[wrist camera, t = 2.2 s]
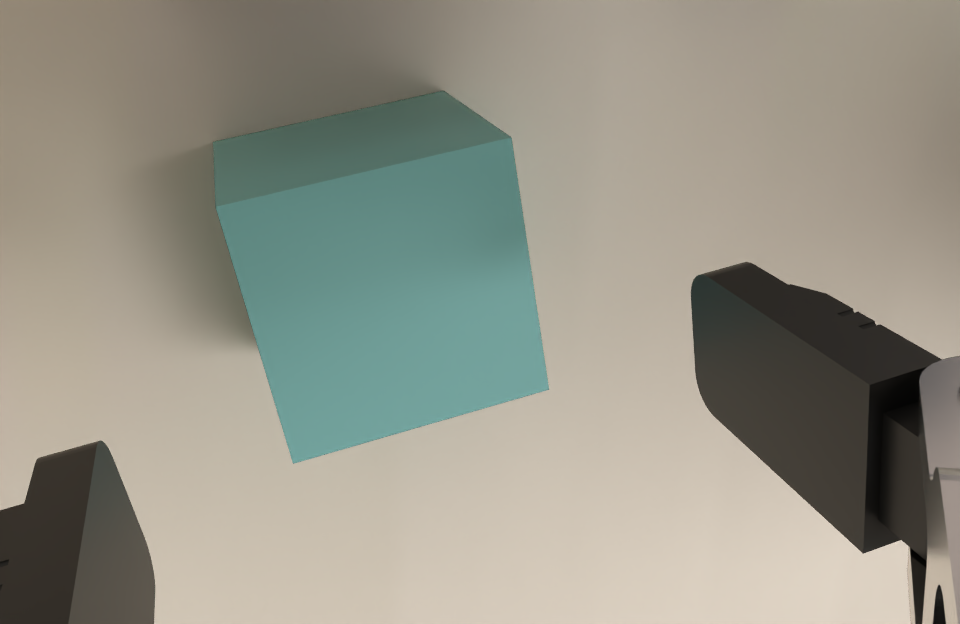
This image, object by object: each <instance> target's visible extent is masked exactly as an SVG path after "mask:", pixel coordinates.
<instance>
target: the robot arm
mask: <svg viewBox="0 0 960 624" xmlns="http://www.w3.org/2000/svg"><path fill="white" fill-rule="evenodd" d="M691 304H692V321H693V338H694V355H695V372H696V379H697V384H698V388H699V391H700V394H701V396H702V399H703V401H704V403H705V405H706V406H707V408H708V409H709V411H710V412H711V413H712V415H713V416H714V417H715V418H716V419H718V420H719V421H720V422H721V423H722V424H723V425H724V426H725V427H726V428H727V429H728V430H730V431H731V432H732V433H733V434H734V435H735V436H736V437H737V438H738V439H739V440H740V441H742V442H743V443H744V444H745V445H746V446H747V447H748V448H749V449H750V450H751V451H752V452H753V453H755V454H756V455H757V456H758V457H759V458H760V459H761V460H762V461H763V462H764V463H765V464H767V465H768V466H769V467H770V468H771V469H772V470H773V471H774V472H775V473H776V474H777V475H778V476H780V477H781V478H782V479H783V480H784V481H785V482H786V483H787V484H788V485H789V486H790V487H792V488H793V489H794V490H795V491H796V492H797V493H798V494H799V495H800V496H801V497H802V498H803V499H805V500H806V501H807V502H808V503H809V504H810V505H811V506H812V507H813V508H814V509H815V510H817V511H818V512H819V513H820V514H821V515H822V516H823V517H824V518H825V519H826V520H827V521H828V522H830V523H831V524H832V525H833V526H834V527H835V528H836V529H837V530H838V531H839V532H840V533H842V534H843V535H844V536H845V537H846V538H847V539H848V540H849V541H850V542H851V543H852V544H853V545H855V546H856V547H857V548H858V549H859V550H860V551H861V552H862V553H866V552H869V551H872V550H874V549H877V548H880V547H883V546H885V545H888V544H891V543H894V542H896V541H899V540H902V541H903V542H905V543H906V544H907V545H908V546H909V549H908V565H907V577H908V592H909V606H910V621H911V624H960V356H956V357H951V358H947V359H943V360H942V359H940V358H938V357H936V356H935V355H933V354H931V353H929V352H928V351H926V350H924V349H922V348H921V347H919V346H917V345H915V344H914V343H912V342H910V341H908V340H907V339H905V338H903V337H901V336H900V335H898V334H896V333H894V332H893V331H891V330H889V329H887V328H886V327H884V326H882V325H877V326H876V325H875V321H873V320H872V319H870V318H868V317H866V316H865V315H863V314H861V313H859V312H856V313H854V311H853V309H852V308H851V307H849V306H847V305H845V304H844V303H842V302H840V301H838V300H837V299H835V298H833V297H831V296H830V295H828V294H825V293H822V292H818V291H814V290H810V289H806V288H803V287H799V286H795V285H791V284H790V285H788V284H786V283H784V282H783V281H781V280H779V279H778V278H776V277H774V276H772V275H771V274H769V273H767V272H766V271H764V270H762V269H761V268H759V267H757V266H756V265H754V264H752V263H749V262H744V263H740V264H737V265H733V266H730V267H726V268H722V269H719V270H715V271H712V272H708V273H704V274H701V275H698V276H696V278H695V279H694V281H693V283H692V288H691ZM154 607H155V579H154V572H153V566H152V561H151V557H150V553H149V550H148V546H147V543H146V540H145V538H144V535H143V533H142V530H141V528H140V525H139V523H138V520H137V518H136V515H135V512H134V510H133V507H132V505H131V502H130V500H129V497H128V495H127V492H126V490H125V487H124V485H123V482H122V480H121V477H120V475H119V472H118V470H117V467H116V465H115V462H114V459H113V457H112V455H111V453H110V451H109V449H108V447H107V446H106V444H105V443H104V442H103V441H97V442H94V443H90V444H87V445H83V446H80V447H76V448H72V449H69V450H65V451H62V452H58V453H54V454H51V455H47V456H44V457H40V458H38V459H37V460H36V463H35V466H34V470H33V474H32V477H31V481H30V485H29V488H28V492H27V496H26V500H25V503H24V504H21V505H17V506H14V507H10V508H7V509H4V510H0V624H154Z"/></svg>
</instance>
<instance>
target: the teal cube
mask: <svg viewBox="0 0 960 624" xmlns="http://www.w3.org/2000/svg"><path fill="white" fill-rule="evenodd" d="M213 151H214V179H215V206H216V210H217V213H218V217H219V220H220V223H221V227H222V230H223V233H224V237H225V240H226V243H227V246H228V250H229V253H230V256H231V260H232V263H233V266H234V270H235V273H236V276H237V280H238V283H239V286H240V289H241V293H242V296H243V299H244V303H245V306H246V309H247V313H248V316H249V319H250V323H251V326H252V329H253V332H254V336H255V339H256V342H257V346H258V349H259V352H260V356H261V359H262V362H263V366H264V369H265V372H266V375H267V379H268V382H269V385H270V389H271V392H272V395H273V399H274V402H275V405H276V409H277V412H278V415H279V418H280V422H281V425H282V428H283V432H284V435H285V438H286V442H287V445H288V448H289V452H290V455H291V458H292V461H293V464H294V463H297V462H301V461H304V460H308V459H311V458H314V457H318V456H321V455H325V454H328V453H332V452H335V451H339V450H342V449H345V448H349V447H352V446H356V445H359V444H363V443H366V442H370V441H373V440H376V439H380V438H383V437H387V436H390V435H394V434H397V433H401V432H404V431H408V430H411V429H414V428H418V427H421V426H425V425H428V424H432V423H435V422H439V421H442V420H445V419H449V418H452V417H456V416H459V415H463V414H466V413H470V412H473V411H477V410H480V409H483V408H487V407H490V406H494V405H497V404H501V403H504V402H508V401H511V400H514V399H518V398H521V397H525V396H528V395H532V394H535V393H539V392H542V391H546V390H549V386H548V379H547V373H546V366H545V359H544V353H543V346H542V339H541V332H540V326H539V319H538V312H537V306H536V299H535V292H534V286H533V279H532V272H531V266H530V259H529V252H528V245H527V239H526V232H525V225H524V219H523V212H522V205H521V199H520V192H519V185H518V178H517V172H516V165H515V158H514V152H513V145H512V138H511V137H510V136H509V135H507V134H506V133H504V132H503V131H501V130H500V129H498V128H497V127H496V126H494V125H493V124H491V123H490V122H488V121H487V120H485V119H484V118H483V117H481V116H480V115H478V114H477V113H475V112H474V111H472V110H471V109H469V108H468V107H467V106H465V105H464V104H462V103H461V102H459V101H458V100H456V99H455V98H453V97H452V96H451V95H449V94H448V93H446V92H445V91H440V92H436V93H431V94H427V95H422V96H418V97H413V98H409V99H404V100H400V101H395V102H391V103H386V104H382V105H377V106H373V107H368V108H364V109H359V110H355V111H350V112H346V113H341V114H337V115H332V116H328V117H323V118H319V119H314V120H310V121H305V122H301V123H296V124H292V125H287V126H283V127H278V128H274V129H269V130H265V131H260V132H256V133H251V134H247V135H242V136H238V137H233V138H229V139H224V140H220V141H215V142H213Z"/></svg>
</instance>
